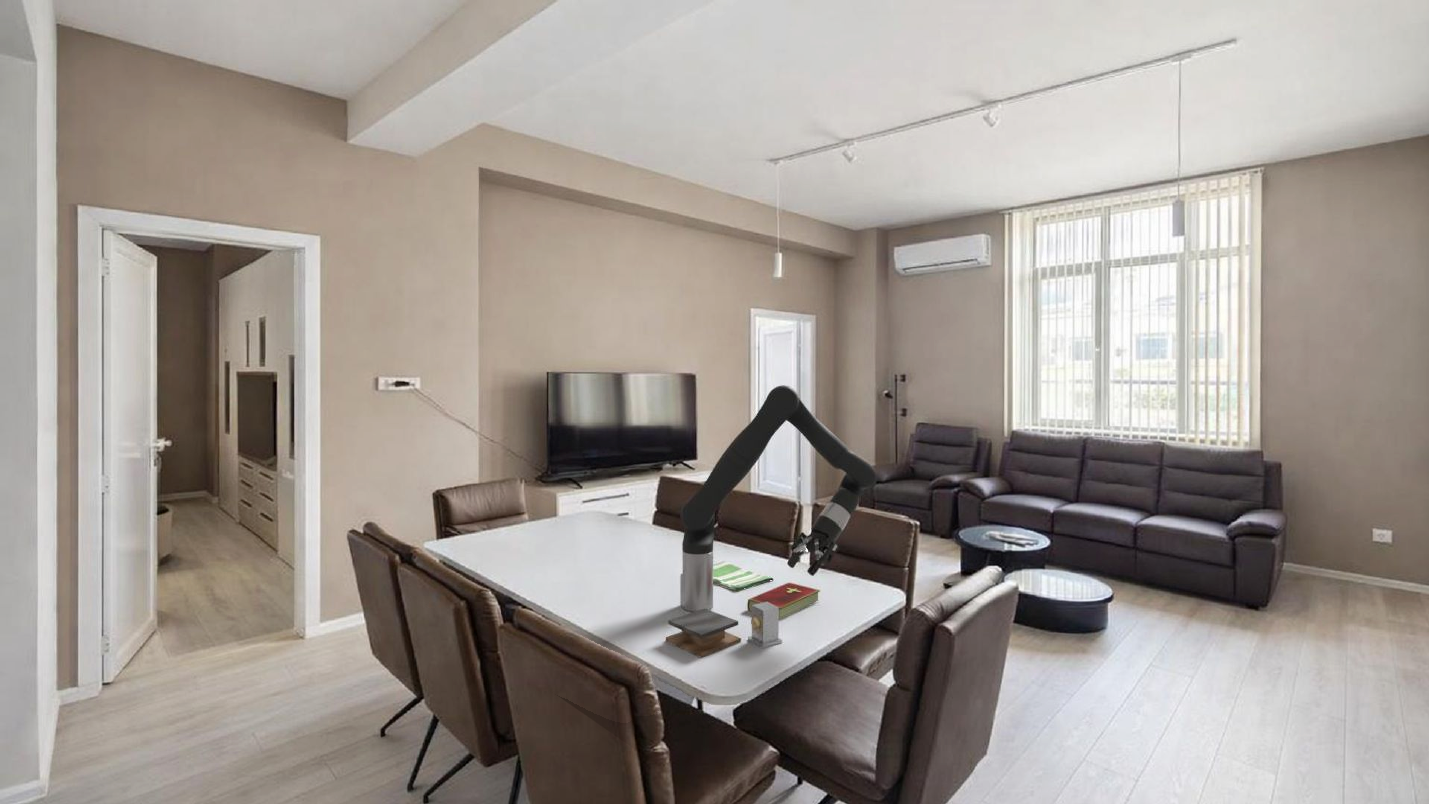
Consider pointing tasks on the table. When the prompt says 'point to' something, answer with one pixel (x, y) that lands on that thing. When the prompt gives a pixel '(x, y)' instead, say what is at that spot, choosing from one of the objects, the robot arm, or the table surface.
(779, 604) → the hardcover book
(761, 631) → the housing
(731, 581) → the dish towel
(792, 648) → the table surface
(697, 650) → the stand
